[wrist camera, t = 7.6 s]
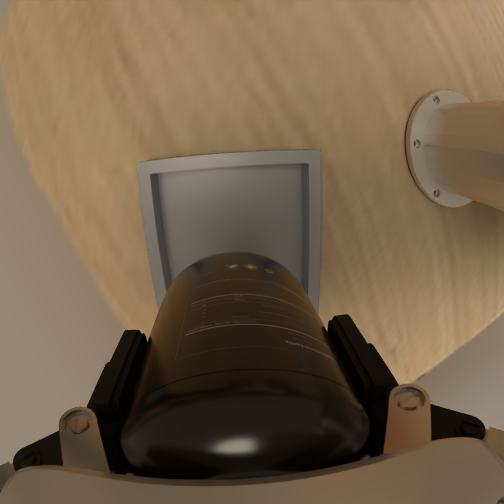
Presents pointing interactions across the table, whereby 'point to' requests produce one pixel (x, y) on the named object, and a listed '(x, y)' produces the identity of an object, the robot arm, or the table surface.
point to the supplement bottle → (240, 381)
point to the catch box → (233, 211)
